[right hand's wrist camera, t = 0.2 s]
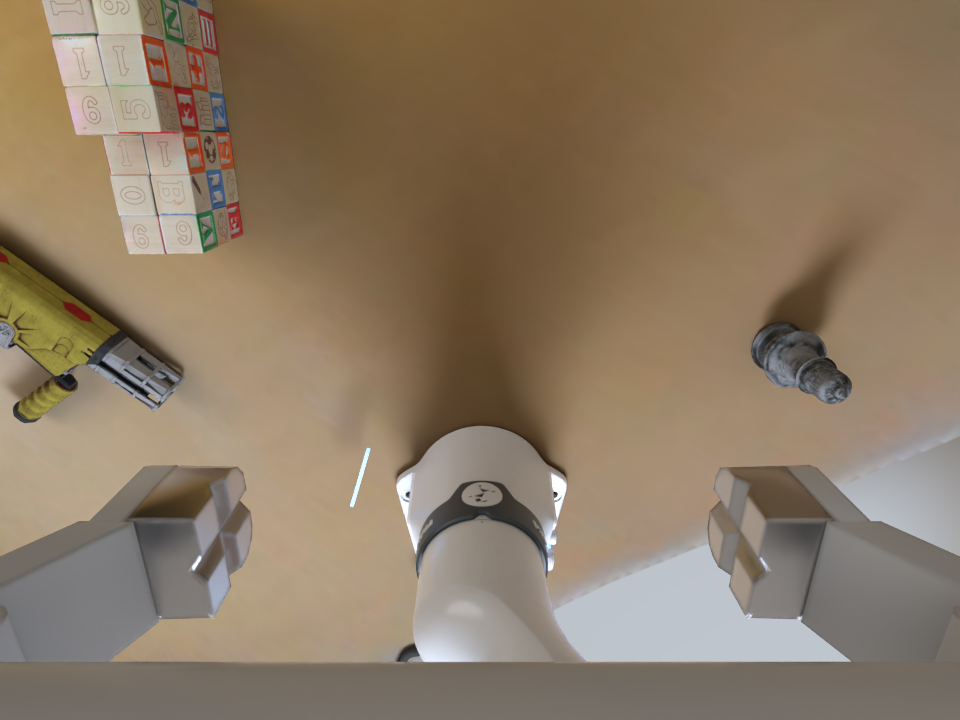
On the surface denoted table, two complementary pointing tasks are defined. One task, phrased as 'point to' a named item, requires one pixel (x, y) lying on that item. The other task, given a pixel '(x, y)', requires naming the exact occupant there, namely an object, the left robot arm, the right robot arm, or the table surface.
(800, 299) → the table surface
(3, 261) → the toy gun
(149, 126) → the stack of blocks
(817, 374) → the grey chess piece
